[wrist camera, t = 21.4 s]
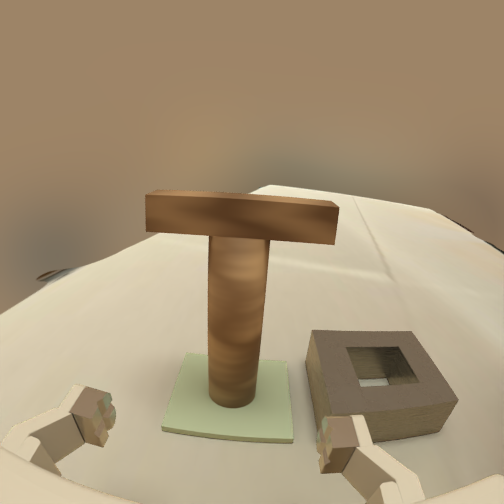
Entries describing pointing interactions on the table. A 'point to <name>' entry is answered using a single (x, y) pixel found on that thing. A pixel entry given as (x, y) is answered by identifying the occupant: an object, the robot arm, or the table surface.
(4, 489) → the robot arm
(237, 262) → the chuck key
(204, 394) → the key mat
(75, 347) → the table surface
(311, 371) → the block
